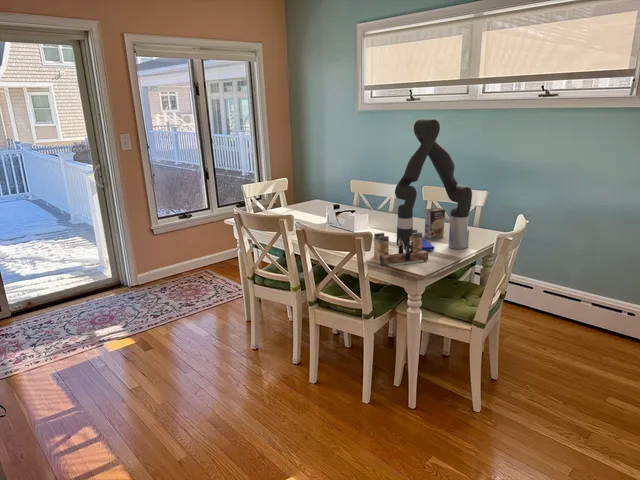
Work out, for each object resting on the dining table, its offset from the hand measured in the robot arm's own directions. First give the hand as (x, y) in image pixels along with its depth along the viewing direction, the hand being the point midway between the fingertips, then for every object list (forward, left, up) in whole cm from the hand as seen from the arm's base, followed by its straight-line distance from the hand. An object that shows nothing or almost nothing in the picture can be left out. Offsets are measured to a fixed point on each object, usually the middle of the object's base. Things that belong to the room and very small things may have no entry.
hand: (404, 257), depth 219 cm
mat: (0, 0, -2) cm, 2 cm away
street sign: (-18, -28, -3) cm, 33 cm away
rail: (0, 0, -2) cm, 2 cm away
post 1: (+9, -8, -2) cm, 12 cm away
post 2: (-9, -8, -2) cm, 12 cm away
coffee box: (-33, -33, -2) cm, 47 cm away
